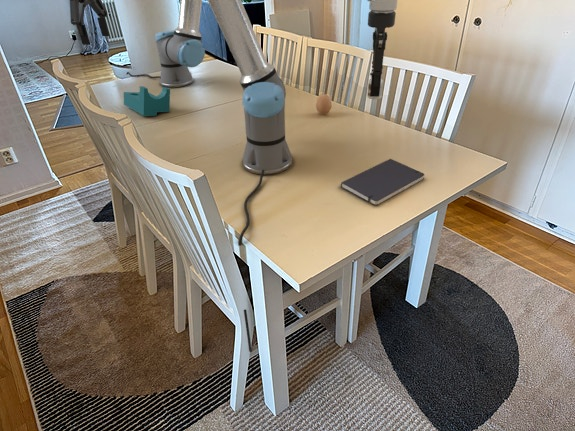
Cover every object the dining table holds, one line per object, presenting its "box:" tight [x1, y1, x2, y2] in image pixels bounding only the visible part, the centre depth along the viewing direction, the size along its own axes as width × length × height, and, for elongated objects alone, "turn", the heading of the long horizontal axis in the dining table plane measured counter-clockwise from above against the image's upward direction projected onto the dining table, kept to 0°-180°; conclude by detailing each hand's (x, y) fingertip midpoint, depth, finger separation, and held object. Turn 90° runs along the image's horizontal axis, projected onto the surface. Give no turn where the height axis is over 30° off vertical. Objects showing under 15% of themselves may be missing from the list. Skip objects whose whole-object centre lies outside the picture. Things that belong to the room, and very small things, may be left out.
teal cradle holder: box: [123, 85, 171, 117], centre depth 163 cm, size 18×11×10 cm, turn 43°
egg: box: [315, 93, 333, 116], centre depth 155 cm, size 6×6×8 cm
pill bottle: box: [366, 70, 384, 100], centre depth 125 cm, size 4×4×8 cm
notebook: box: [340, 158, 425, 206], centre depth 114 cm, size 13×2×21 cm
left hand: (96, 40), depth 151 cm, fingers open, 13 cm apart
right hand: (374, 93), depth 127 cm, fingers closed on pill bottle, 4 cm apart
